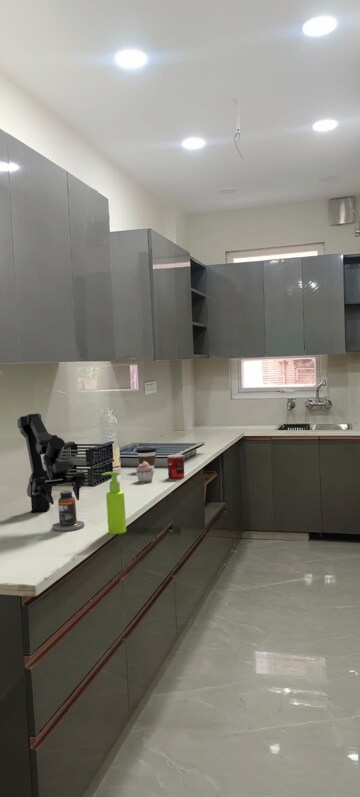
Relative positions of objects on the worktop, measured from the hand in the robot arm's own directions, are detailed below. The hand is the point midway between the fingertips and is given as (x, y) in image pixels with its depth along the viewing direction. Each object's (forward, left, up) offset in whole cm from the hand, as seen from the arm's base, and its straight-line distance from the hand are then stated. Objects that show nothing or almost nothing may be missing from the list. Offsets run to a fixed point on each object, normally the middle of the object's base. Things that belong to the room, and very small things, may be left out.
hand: (65, 501), depth 213 cm
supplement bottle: (0, -1, -8) cm, 8 cm away
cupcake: (+26, +80, -9) cm, 85 cm away
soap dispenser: (+17, -11, -9) cm, 23 cm away
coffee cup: (+27, +110, -9) cm, 114 cm away
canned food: (+42, +85, -9) cm, 95 cm away
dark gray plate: (0, -1, -9) cm, 9 cm away
